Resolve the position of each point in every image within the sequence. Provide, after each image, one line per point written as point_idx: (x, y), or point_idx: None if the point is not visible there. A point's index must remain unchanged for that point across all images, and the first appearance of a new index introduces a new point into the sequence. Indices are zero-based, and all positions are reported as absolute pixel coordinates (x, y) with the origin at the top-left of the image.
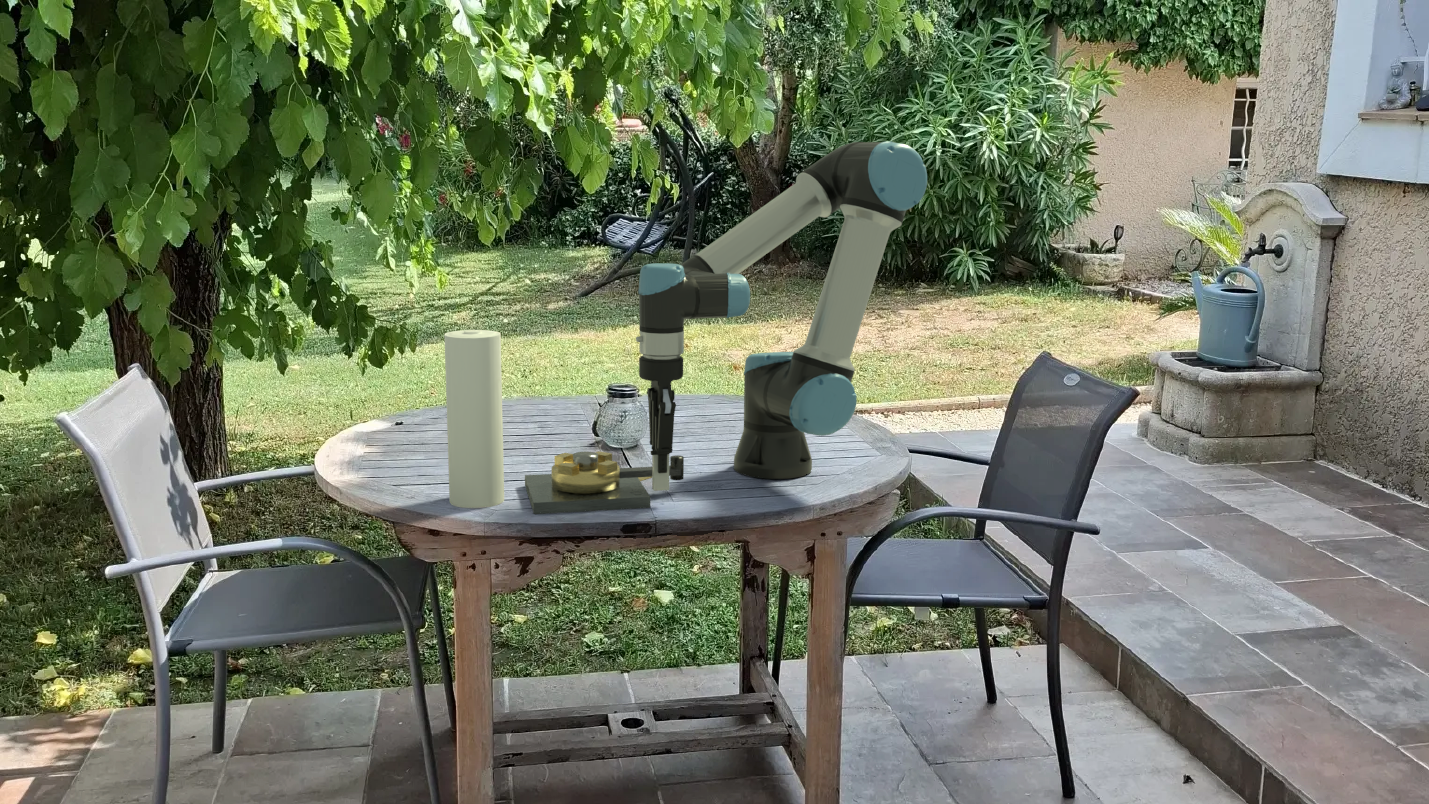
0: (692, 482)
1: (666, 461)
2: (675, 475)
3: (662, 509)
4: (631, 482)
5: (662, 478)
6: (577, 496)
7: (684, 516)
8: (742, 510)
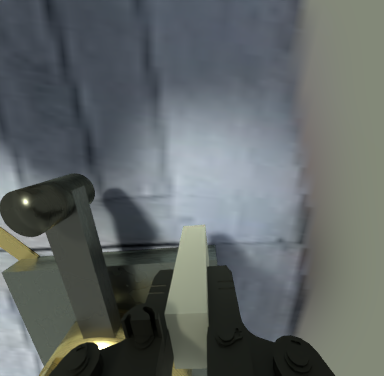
0: (13, 136)
1: (237, 302)
2: (87, 200)
3: (227, 223)
4: None
5: (207, 260)
6: (200, 372)
7: (286, 184)
8: (264, 25)
